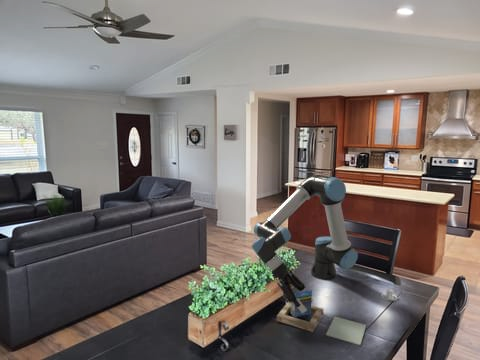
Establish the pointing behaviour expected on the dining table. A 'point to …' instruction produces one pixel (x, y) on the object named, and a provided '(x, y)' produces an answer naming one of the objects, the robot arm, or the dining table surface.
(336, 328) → the sage board
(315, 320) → the oak socket frame
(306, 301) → the label tape box
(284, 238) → the robot arm
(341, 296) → the dining table surface
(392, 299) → the teacup and saucer
